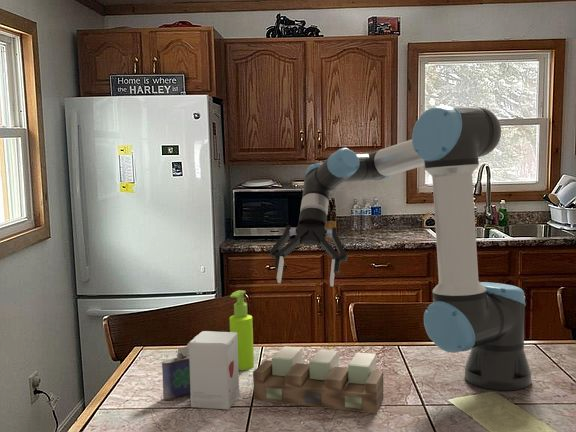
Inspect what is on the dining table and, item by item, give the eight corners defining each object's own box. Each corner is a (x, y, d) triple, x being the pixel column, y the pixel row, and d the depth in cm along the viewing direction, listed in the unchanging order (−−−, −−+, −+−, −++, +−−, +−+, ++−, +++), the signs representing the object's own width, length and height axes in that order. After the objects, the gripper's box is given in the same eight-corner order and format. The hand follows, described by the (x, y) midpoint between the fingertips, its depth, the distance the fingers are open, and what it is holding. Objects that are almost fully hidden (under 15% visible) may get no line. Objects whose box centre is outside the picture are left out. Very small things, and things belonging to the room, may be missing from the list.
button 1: (302, 363, 155) (302, 347, 155) (290, 376, 147) (290, 360, 146) (285, 362, 157) (284, 346, 156) (272, 375, 148) (271, 358, 148)
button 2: (376, 370, 149) (376, 353, 149) (368, 384, 141) (368, 367, 140) (357, 368, 151) (357, 352, 150) (348, 382, 142) (348, 365, 142)
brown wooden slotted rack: (383, 399, 143) (383, 371, 143) (376, 414, 136) (376, 384, 135) (266, 386, 152) (265, 360, 152) (253, 400, 145) (252, 372, 144)
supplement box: (229, 410, 139) (226, 343, 138) (190, 408, 141) (187, 342, 139) (240, 394, 148) (238, 331, 146) (203, 392, 150) (201, 330, 148)
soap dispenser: (225, 370, 164) (222, 293, 162) (237, 361, 171) (234, 287, 168) (246, 372, 162) (243, 295, 160) (257, 363, 168) (255, 289, 166)
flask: (165, 402, 145) (163, 356, 144) (161, 397, 147) (159, 352, 146) (203, 393, 150) (201, 348, 148) (198, 389, 152) (196, 345, 151)
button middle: (338, 367, 152) (338, 350, 152) (328, 380, 144) (328, 363, 143) (320, 365, 154) (320, 349, 153) (309, 378, 145) (309, 361, 145)
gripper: (359, 223, 176) (354, 292, 164) (270, 219, 180) (259, 286, 168) (359, 207, 170) (353, 277, 158) (267, 204, 174) (254, 272, 162)
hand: (304, 282), depth 163 cm, fingers open, 13 cm apart
